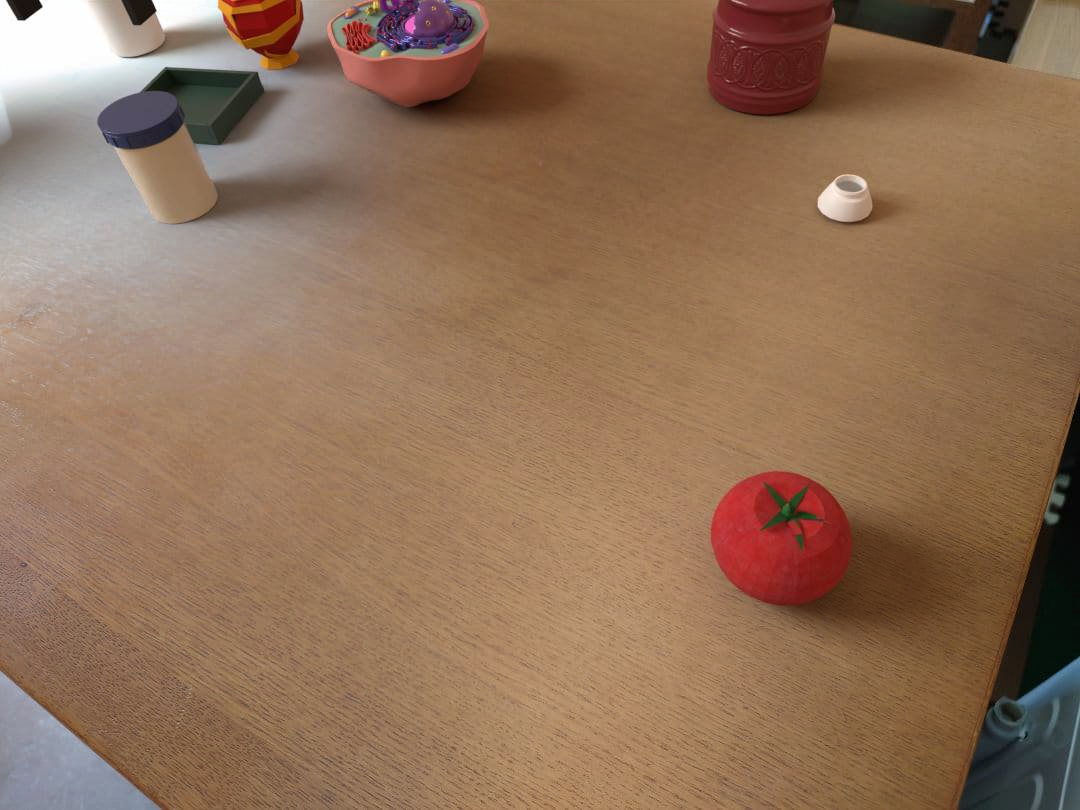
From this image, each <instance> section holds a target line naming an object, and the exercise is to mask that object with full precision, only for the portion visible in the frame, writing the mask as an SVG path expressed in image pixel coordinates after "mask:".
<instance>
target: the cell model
mask: <svg viewBox="0 0 1080 810" xmlns="http://www.w3.org/2000/svg"><path fill="white" fill-rule="evenodd" d="M489 27H490V22H489V20H488V18H487V15H486V10H485V8H484V6H483V5H482V4H481V3H479V2H477V1H475V0H365V1H364V0H363V1H361V2H359V3H356V4H354V5H353V6H350V7H349V8H347V9H346V10H344V11H342V12H341V13H339V14H338V15H336V16H334V17H333V18H332V19H331V20H330V21H329V22H328V24H327V26H326V31H327V36H328V39H329V41H330V43H331V45H332V48H333V50H334V51H335V53H336V56H337V58H338V60H339V63H340V66H341V68H342V71H343V74H344V77H345V78H346V80H348V82H349V83H351V84H353V85H355V86H358V87H359V88H360V89H362V90H364V91H366V92H367V93H369V94H372V95H375V96H378V97H380V98H382V99H384V100H386V101H388V102H391V103H393V104H396V105H398V106H401V107H403V108H414V107H417V106H419V105H422V104H425V103H429V102H436V101H440V100H445V99H447V98H449V97H451V96H452V95H454V94H456V93H458V92H459V91H461V90H463V89H464V88H465V87H467V86H468V84H469V83H470V82H471V80H472V78H473V75H474V73H475V72H476V70H477V68H478V66H479V64H480V62H481V61H482V58H483V54H484V49H485V48H484V47H485V43H486V39H487V35H488V31H489Z"/></svg>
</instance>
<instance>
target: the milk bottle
mask: <svg viewBox="0 0 1080 810" xmlns="http://www.w3.org/2000/svg"><path fill="white" fill-rule="evenodd" d="M83 1H84V3H85V4H86V6H87V9H88V10H89V12H90V14H91V17H92V18H93V20H94V22H95V24H96V26H97V28H98V31H99V32H100V34H101V35H102V38H103V40H104V41H105V43H106V45H107V47H108V49H109V50H110V52H111V53H113V55H116V56H118V57H121V58H122V57H123V58H130V57H131V58H133V57H137V56H138V57H139V56H143V55H145V54H149V53H151V52H153V51H154V50H157V49H158V48H159V47H161V46H162V45H163V44H164V42H165V38H166V35H165V32H164V28H163V27H162V24H161V22H160V21H159V18H158V16H157V12H155V13H154V14H153V15H152V16H151V17H150V18H149V19H148V20H146V21H145V22H144V23H143V24H142V25H141V26H140V25H133V24H132V22H131V20H130V17H129V15H128V13H127V11H126V9H125V7H124V5H123V3H122V1H121V0H83Z"/></svg>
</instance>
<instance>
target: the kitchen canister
mask: <svg viewBox="0 0 1080 810" xmlns="http://www.w3.org/2000/svg"><path fill="white" fill-rule="evenodd" d="M834 1H835V0H718V2H717V3H716V5H715V6H714V7H713V11H712V20H713V22H712V32H711V33H712V34H711V43H710V53H709V60H708V63H707V67H706V79H707V88H708V91H709V94H710V95H711V96H712V98H713V99H714V100H716V101H717V102H718V103H719V104H721V105H723V106H725V107H726V108H729V109H730V110H734V111H737V112H742V113H746V114H751V115H776V114H783V113H788V112H791V111H795V110H797V109H800V108H802V107H804V106H805V105H807V104H808V103H810V102H811V101H812V100H813V99H814V98H815V96H816V95H817V91H818V89H819V87H820V85H821V83H822V79H823V75H824V71H825V70H824V65H825V64H824V63H825V59H826V54H827V49H828V45H829V41H830V40H829V39H830V35H831V31H832V27H833V25H834V23H835V20H836V12H835V8H834Z"/></svg>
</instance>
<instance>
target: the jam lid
mask: <svg viewBox="0 0 1080 810" xmlns="http://www.w3.org/2000/svg"><path fill="white" fill-rule="evenodd" d="M139 92H140V91H139ZM139 92H136V93H132V94H129V95H126V96H123V97H120V98H119V99H117V100H115V101H113V102H111V103H110V104H108V105H107V106H106V107H105V108H103V110H102V111H100V113H99V114H98V117H97V119H96V123H97V127H98V128H99V130H100V132H101V134H102V136H103V137H104V139H105V141H106V143H107V144H109V145H110V146H112V147H113V146H114V147H117V148H122V149H136V148H142V147H147V146H151V145H154V144H156V143H159V142H161V141H164V140H165V139H167V138H169V137H170V136H172V135H173V134H175V133H176V132H177V131H178V130H179V129H180V128H181V127H182V125H183V123H184V116H185V115H184V112H183V110H182V108H181V106H180V105H179V103H178V101H177V99H176V98H175V96H173V95H172V94H170V93H167V92H162V91H146V92H140V93H139ZM114 147H113V148H114Z"/></svg>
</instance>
